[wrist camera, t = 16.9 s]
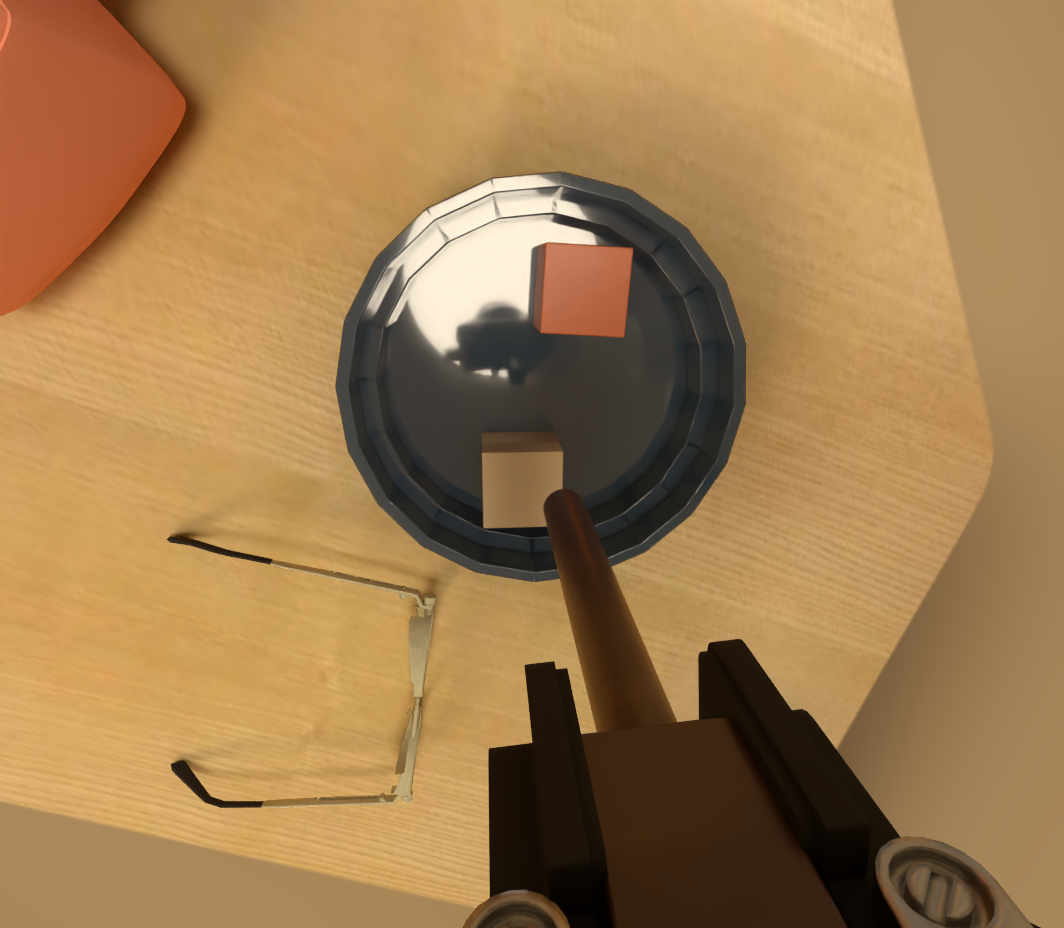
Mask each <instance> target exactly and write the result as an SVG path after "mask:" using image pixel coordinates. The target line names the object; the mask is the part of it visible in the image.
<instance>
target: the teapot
mask: <svg viewBox="0 0 1064 928" xmlns="http://www.w3.org/2000/svg"><path fill="white" fill-rule="evenodd" d="M185 108H186V103H185V99H184V97H183V96H182V94H181V93H180V92H179V90H178V89H177V87H176V86H175V85H174V83H173V82H172V81H171V79H170V78H169V77H168V76H167V74H166V73H165V72H164V71H163V70H162V69H161V68H160V67H159V65H158V64H157V63H156V62H155V61H154V60H153V59H152V58H151V57H150V56H149V54H148V53H147V52H146V51H145V50H144V49H143V48H142V47H141V46H140V45H139V43H138V42H137V41H136V40H135V39H134V38H133V37H132V36H131V35H130V34H129V33H128V32H127V31H126V29H125V28H124V27H123V26H122V25H121V24H120V23H119V22H118V21H117V20H116V19H115V18H114V17H113V16H112V15H111V14H110V13H109V12H108V11H107V9H106V8H105V7H104V6H103V5H102V4H101V3H100V2H99V1H98V0H0V316H2V315H5V314H7V313H10V312H12V311H14V310H16V309H18V308H20V307H21V306H23V305H24V304H26V303H27V302H29V301H30V300H32V299H33V298H35V297H36V296H37V295H38V294H39V293H40V292H42V291H43V290H44V289H45V288H46V287H47V286H48V285H50V284H51V283H52V282H53V281H54V280H55V279H56V278H57V277H58V276H59V275H60V274H61V273H62V272H63V271H64V270H65V269H66V268H67V267H68V266H69V265H70V264H71V263H72V262H73V261H74V260H75V259H76V258H77V257H78V256H79V255H80V254H81V253H82V252H83V251H84V250H85V249H86V248H87V247H88V246H89V245H90V244H91V243H92V242H93V241H94V240H95V239H96V238H97V237H98V236H99V235H100V234H101V233H102V232H103V230H104V229H105V228H106V227H107V226H108V225H109V224H110V223H111V221H112V220H113V219H114V218H115V216H116V215H117V214H118V213H119V212H120V210H121V209H122V208H123V207H124V205H125V204H126V203H127V201H128V200H129V198H130V197H131V196H132V194H133V193H134V192H135V190H136V189H137V188H138V186H139V185H140V183H141V182H142V181H143V179H144V178H145V176H146V175H147V174H148V172H149V171H150V169H151V168H152V167H153V165H154V164H155V162H156V161H157V159H158V158H159V157H160V155H161V154H162V152H163V151H164V149H165V148H166V146H167V145H168V143H169V142H170V140H171V138H172V137H173V135H174V134H175V132H176V131H177V129H178V127H179V125H180V123H181V120H182V118H183V116H184V113H185Z"/></svg>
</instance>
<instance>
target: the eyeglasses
mask: <svg viewBox="0 0 1064 928" xmlns="http://www.w3.org/2000/svg"><path fill="white" fill-rule="evenodd" d="M167 540H168V541H169V542H171V543H178V544H184V545H191V546H194V547H197V548H200V549H204V550H207V551H210V552H214V553H218V554H222V555H226V556H230V557H236V558H241V559H246V560H251V561H256V562H261V563H267V564H271V565H273V566H276V567H280V568H285V569H289V570H294V571H298V572H303V573H308V574H312V575H317V576H321V577H326V578H330V579H335V580H340V581H344V582H349V583H353V584H358V585H362V586H367V587H372V588H376V589H381V590H385V591H390V592H394V593H399V595H400V598H401V599H402V600H403V599H404V598H405V597H407V596H413V597H415V598H416V601H417V603H418V605H413V607H414V608H416V609H417V611H418V616H419V617H413V616H411V618H410V621H409V664H410V675H411V682H412V684H414V696H415V697H416V704H415V706H414V710H413V713H412V711H411V709H409V711H408V712H407V713H410V714H412V715H411V718H410V721H409V724H408V727H407V730H406V733H405V736H404V739H403V743H402V746H401V750H400V753H399V757H398V761H397V765H396V771H395V774H400V775H401V776H400V779H399V782H398V784H397V786H392V789H391V794H393V795H385V794H384V793H382V794H380V795H379V796H377V795H375V796H357V797H356V796H351V797H350V796H349V797H348V796H347V797H345V796H344V797H342V796H341V797H339V796H336V797H327V798H326V797H322V798H321V797H320V799H319V800H317V797H316V798H301V799H283V800H267V801H223V800H220V799H217V798H214V797H211V796H210V795H209V794H208V792H207V791H206V790H205V788H204V787H203V786H202V784H201V783H200V782H199V780H198V779H197V777H196V776H195V775H194V773H193V772H192V770H191V769H190V767H189V766H188V764H187V763H186V762H185V761H184V760H183V761H178V762H175V763H172V764H171V768H172V771H173V772H174V773H175V774H176V775H177V776H178V777H179V778H180V779H181V780H182V781H183V782H184V783H185V784H186V785H187V786H188V787H189V788H190V789H191V790H192V791H193V792H194V793H195V794H196V795H197V796H198V797H200V798H201V799H202V800H203V801H204V802H205V803H208V804H211V805H214V806H217V807H220V808H244V807H264V808H286V807H320V806H353V805H386V804H395V803H396V801H397V800H398V799H399V798H400V797H401V796H402V801H403V802H406V803H408V802H410V801H411V800H412V794H413V792H412V790H411V788H412V782H413V775H414V768H415V761H416V753H417V746H418V738H419V730H420V722H421V713H422V706H419V702H420V697H422V695H423V689H424V682H425V676H426V669H427V661H428V654H429V646H430V638H431V630H432V622H433V613H434V606H433V605H435V603H436V595H435V594H433V593H427V594H425V598H424V600H423V599H422V597H421V595H420V592H419V590H417V589H412V588H407V587H405V586H399V585H398V586H397V585H395V584H391V585H390V583H389V584H388V583H385V582H379V581H377V580H376V581H373V580H371V579H367V578H362V577H358V576H357V577H354V576H352V575H348V574H342V573H339V572H335V573H332V572H333V571H327V570H322V569H317V568H312V567H307V566H302V565H296V564H291V563H286V562H281V561H274V560H272V559H269V558H264V557H259V556H254V555H250V554H245V553H240V552H235V551H230V550H226V549H223V548H220V547H217V546H213V545H210V544H207V543H204V542H201V541H198V540H194V539H190V538H186V537H169V538H168V539H167ZM366 579H367V580H366ZM404 587H405V589H403V588H404ZM323 798H324V799H323ZM331 798H332V799H331ZM368 798H369V799H368Z"/></svg>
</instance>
